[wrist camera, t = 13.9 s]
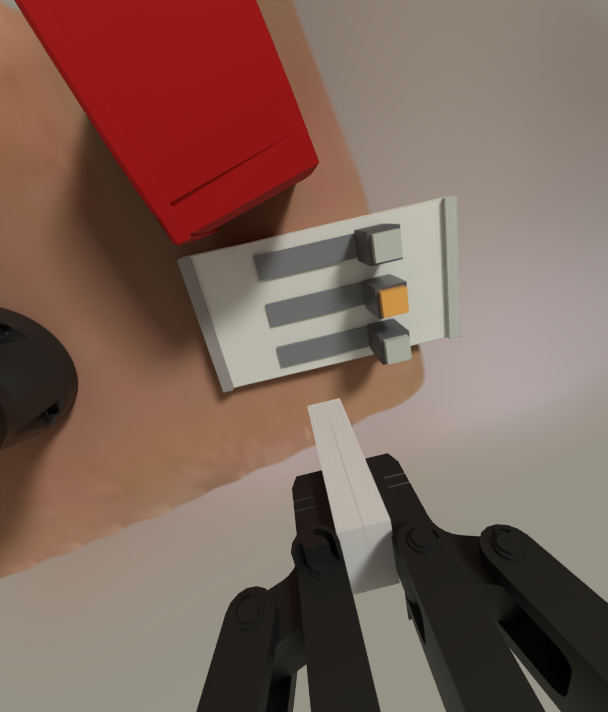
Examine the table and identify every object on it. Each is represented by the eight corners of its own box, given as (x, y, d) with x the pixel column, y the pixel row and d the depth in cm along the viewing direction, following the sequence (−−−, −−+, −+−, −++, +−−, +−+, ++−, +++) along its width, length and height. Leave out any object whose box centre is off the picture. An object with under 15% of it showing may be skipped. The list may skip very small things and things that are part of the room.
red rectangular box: (97, 54, 28) (-70, -110, 14) (208, -16, 27) (148, -265, 13) (206, 238, 34) (165, 250, 20) (299, 186, 33) (323, 163, 19)
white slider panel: (225, 382, 40) (217, 417, 33) (182, 257, 34) (161, 266, 27) (448, 329, 41) (486, 352, 34) (443, 197, 35) (489, 191, 28)
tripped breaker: (365, 307, 36) (381, 321, 31) (361, 280, 34) (377, 290, 30) (392, 301, 36) (412, 314, 31) (389, 273, 35) (410, 282, 30)
